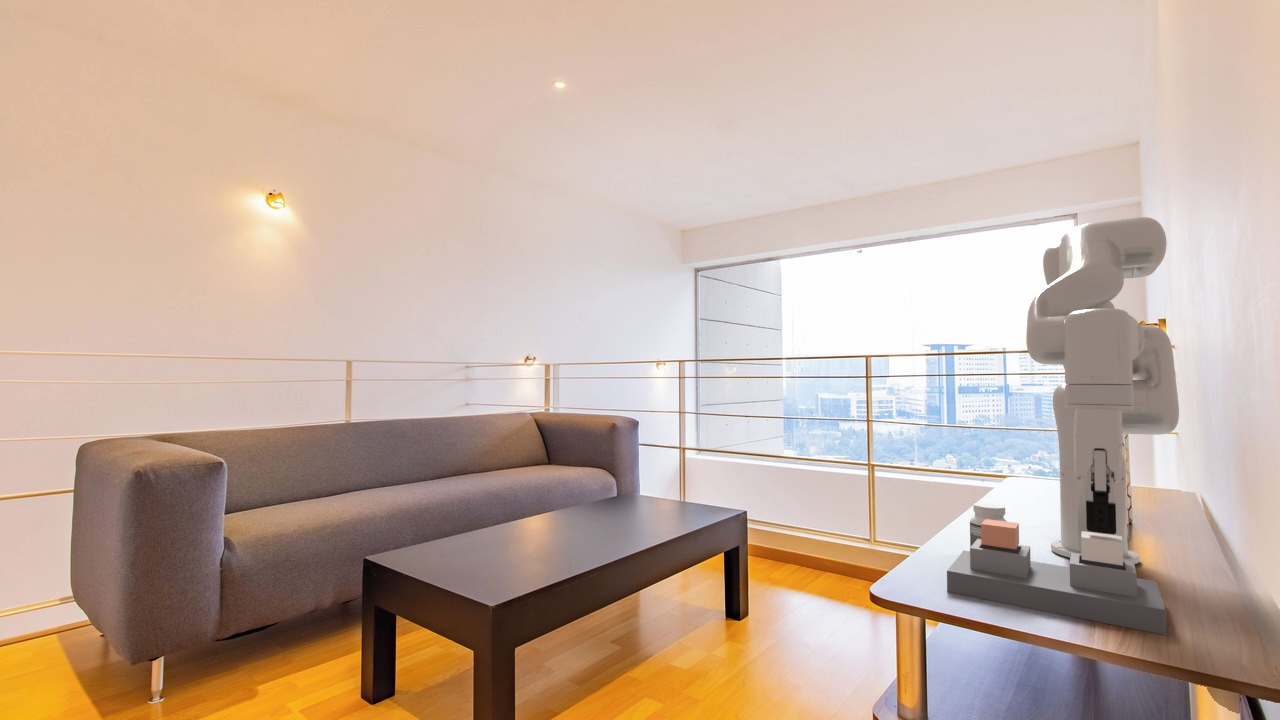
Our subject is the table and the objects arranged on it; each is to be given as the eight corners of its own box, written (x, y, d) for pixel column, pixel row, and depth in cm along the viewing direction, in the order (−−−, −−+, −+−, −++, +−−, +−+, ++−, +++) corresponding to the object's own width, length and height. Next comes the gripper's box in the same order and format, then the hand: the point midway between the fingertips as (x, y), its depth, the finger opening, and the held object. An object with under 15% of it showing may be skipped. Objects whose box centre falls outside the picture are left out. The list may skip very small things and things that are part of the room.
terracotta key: (985, 538, 92) (985, 518, 92) (1019, 543, 89) (1018, 523, 89) (981, 544, 88) (980, 523, 88) (1016, 549, 86) (1015, 528, 86)
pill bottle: (984, 557, 104) (984, 500, 105) (1017, 567, 99) (1016, 507, 100) (963, 561, 102) (962, 503, 102) (995, 571, 97) (994, 509, 97)
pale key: (1082, 552, 85) (1081, 531, 85) (1121, 558, 82) (1121, 536, 82) (1081, 559, 81) (1081, 537, 81) (1123, 565, 78) (1122, 542, 79)
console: (963, 568, 98) (963, 532, 98) (1156, 602, 83) (1155, 559, 83) (947, 591, 87) (946, 549, 87) (1166, 635, 72) (1164, 584, 72)
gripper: (1067, 397, 91) (1069, 519, 90) (1063, 397, 79) (1065, 537, 78) (1130, 398, 86) (1133, 526, 85) (1136, 399, 74) (1140, 547, 73)
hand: (1101, 531), depth 82 cm, fingers closed
